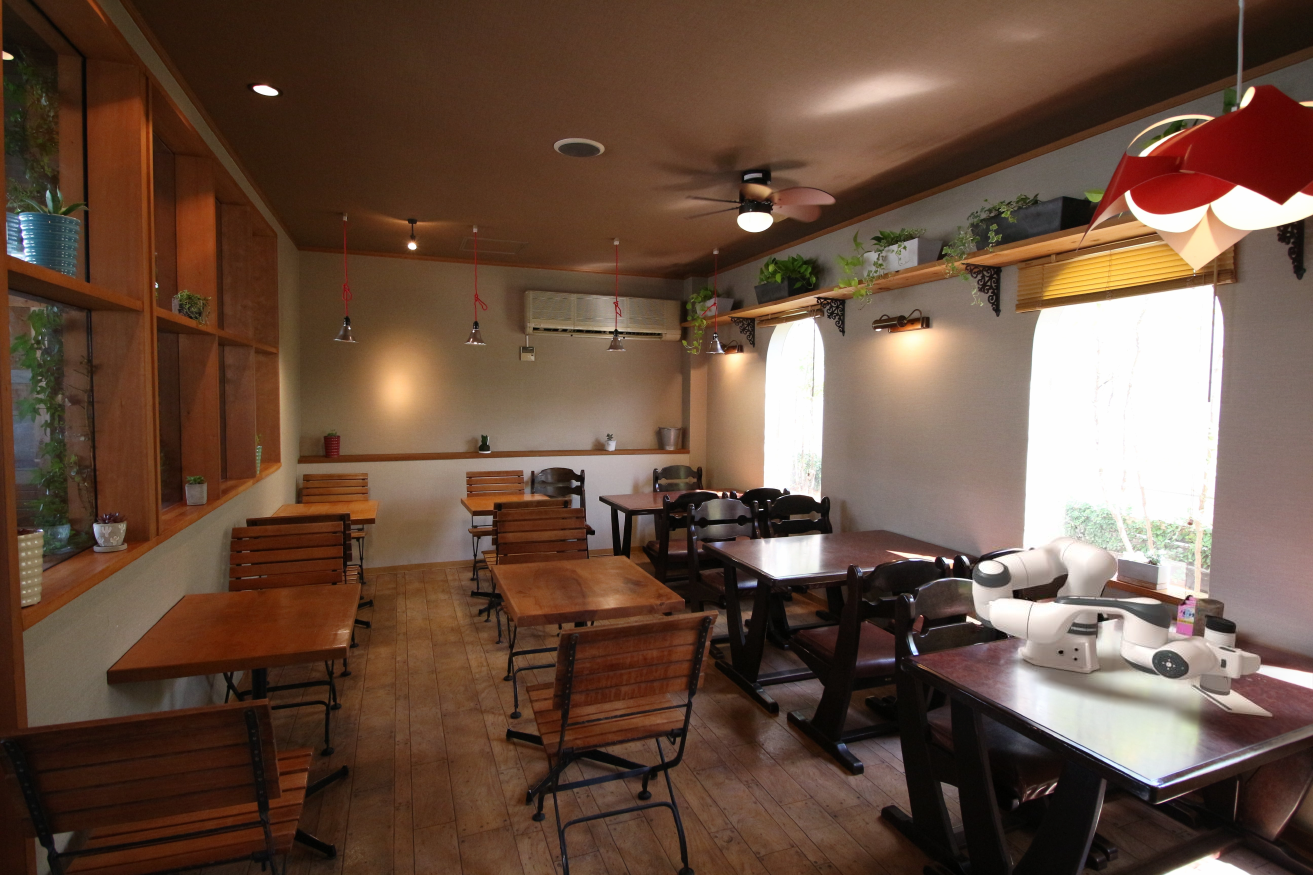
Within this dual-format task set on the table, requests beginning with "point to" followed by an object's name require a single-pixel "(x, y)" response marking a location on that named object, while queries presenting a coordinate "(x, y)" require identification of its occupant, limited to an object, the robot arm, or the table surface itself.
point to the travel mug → (1223, 635)
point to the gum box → (1186, 616)
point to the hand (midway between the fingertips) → (1220, 646)
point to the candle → (1203, 608)
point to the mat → (1233, 703)
